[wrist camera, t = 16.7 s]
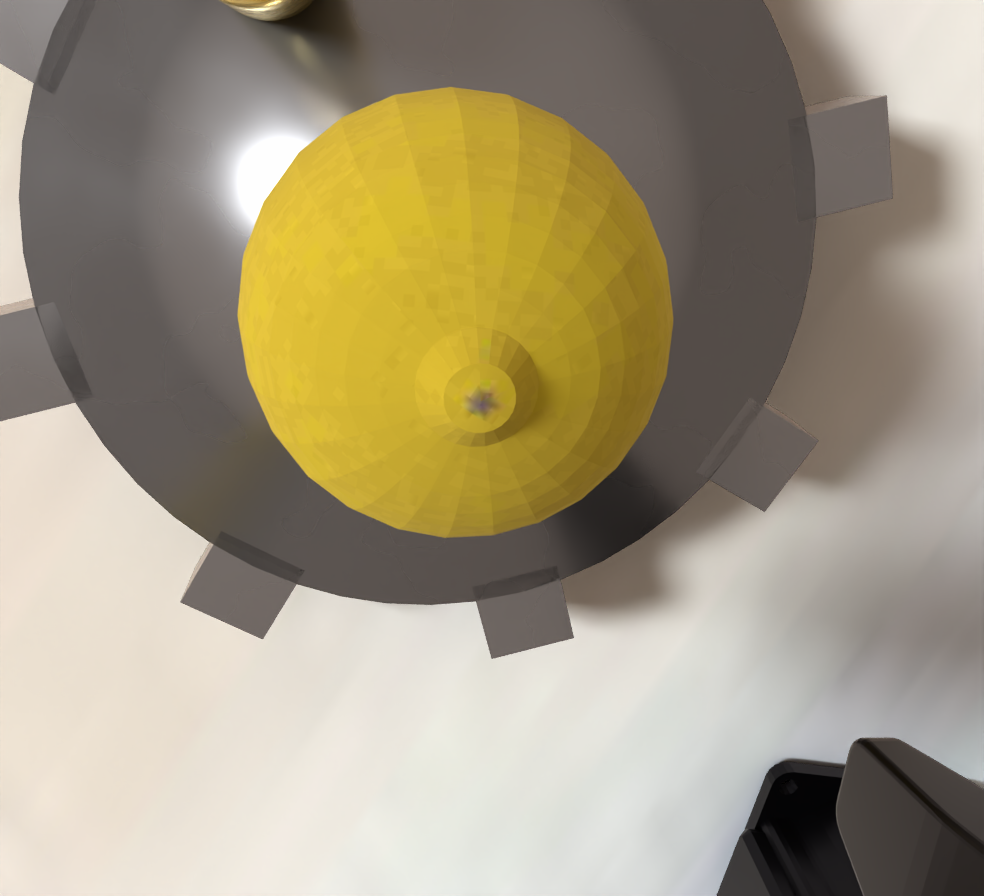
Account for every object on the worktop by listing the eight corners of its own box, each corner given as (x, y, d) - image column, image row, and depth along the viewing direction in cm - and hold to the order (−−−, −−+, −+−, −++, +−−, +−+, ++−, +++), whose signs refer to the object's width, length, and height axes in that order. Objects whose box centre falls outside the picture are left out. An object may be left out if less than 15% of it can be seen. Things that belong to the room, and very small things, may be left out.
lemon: (265, 389, 16) (153, 626, 9) (299, 60, 14) (196, 11, 7) (560, 432, 17) (687, 681, 10) (629, 127, 15) (850, 148, 8)
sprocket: (230, -556, 13) (154, -867, 9) (1022, 101, 18) (1219, 99, 13) (-169, 397, 17) (-348, 491, 13) (553, 731, 22) (591, 880, 18)
